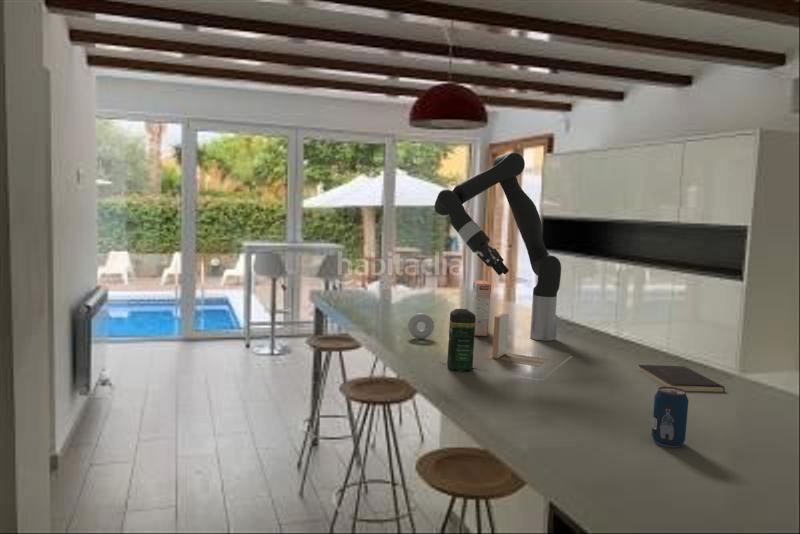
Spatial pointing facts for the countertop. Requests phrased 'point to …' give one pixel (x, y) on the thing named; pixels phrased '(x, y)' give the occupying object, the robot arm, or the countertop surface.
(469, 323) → the coffee jar
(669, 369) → the hardcover book
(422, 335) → the donut
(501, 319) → the tile
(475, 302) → the cracker box
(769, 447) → the countertop surface
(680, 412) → the soda can
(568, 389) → the countertop surface
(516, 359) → the board
